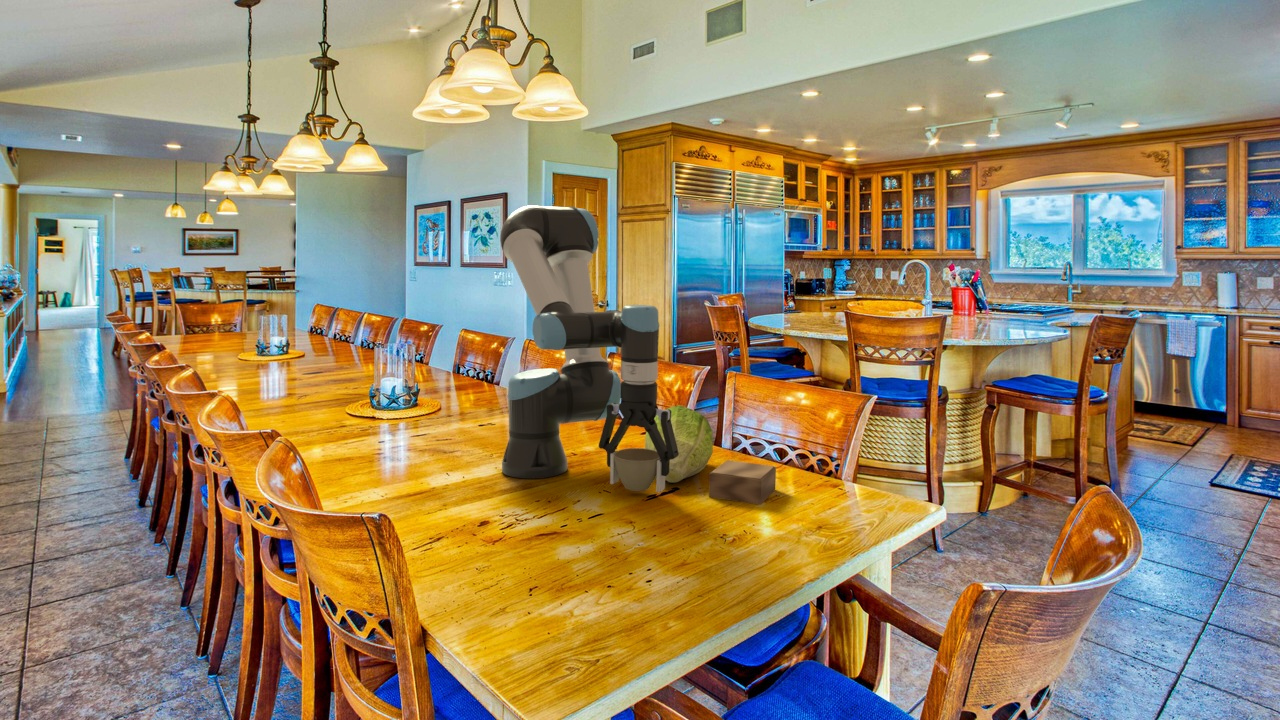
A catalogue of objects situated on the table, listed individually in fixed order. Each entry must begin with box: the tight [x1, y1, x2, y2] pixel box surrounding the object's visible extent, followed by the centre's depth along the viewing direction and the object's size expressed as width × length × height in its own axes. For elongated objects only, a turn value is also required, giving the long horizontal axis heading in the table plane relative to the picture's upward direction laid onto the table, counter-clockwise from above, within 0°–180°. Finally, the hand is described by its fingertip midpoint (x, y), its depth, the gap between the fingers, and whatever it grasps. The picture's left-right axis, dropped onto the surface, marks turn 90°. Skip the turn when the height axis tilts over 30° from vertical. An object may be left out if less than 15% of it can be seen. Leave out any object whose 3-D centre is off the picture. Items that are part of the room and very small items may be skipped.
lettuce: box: [644, 404, 714, 483], centre depth 161 cm, size 15×24×16 cm
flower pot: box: [614, 447, 660, 492], centre depth 145 cm, size 10×10×7 cm
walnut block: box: [708, 460, 777, 505], centre depth 147 cm, size 11×11×5 cm
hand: (637, 486), depth 146 cm, fingers closed on flower pot, 10 cm apart
